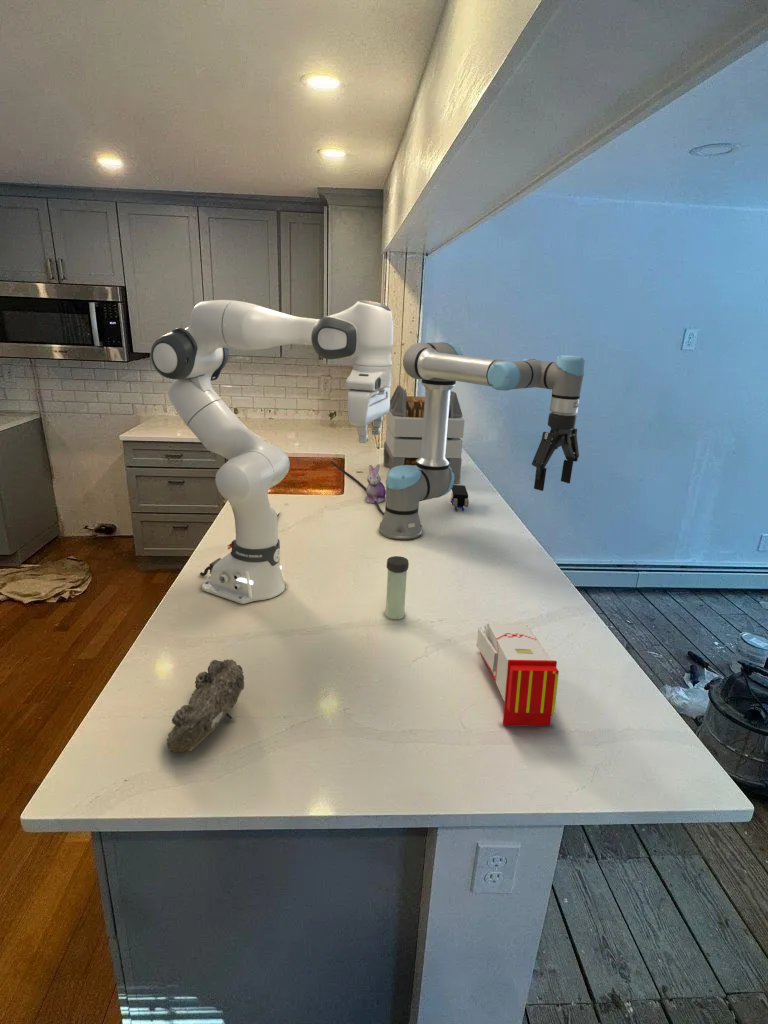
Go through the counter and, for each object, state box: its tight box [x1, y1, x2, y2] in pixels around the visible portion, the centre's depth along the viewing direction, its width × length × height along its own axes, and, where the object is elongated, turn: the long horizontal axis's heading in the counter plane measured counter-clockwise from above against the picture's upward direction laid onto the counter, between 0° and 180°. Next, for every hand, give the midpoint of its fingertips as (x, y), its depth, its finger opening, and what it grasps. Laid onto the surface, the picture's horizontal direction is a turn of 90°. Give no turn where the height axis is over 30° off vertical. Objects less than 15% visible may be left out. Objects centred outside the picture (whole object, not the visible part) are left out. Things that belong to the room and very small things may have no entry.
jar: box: [385, 569, 408, 620], centre depth 145 cm, size 5×5×15 cm
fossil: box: [166, 658, 245, 754], centre depth 106 cm, size 22×10×15 cm
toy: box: [476, 621, 560, 727], centre depth 120 cm, size 12×13×30 cm
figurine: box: [365, 463, 386, 504], centre depth 231 cm, size 9×10×15 cm
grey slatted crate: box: [383, 384, 465, 484], centre depth 268 cm, size 34×33×41 cm
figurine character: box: [449, 484, 470, 512], centre depth 229 cm, size 7×8×15 cm
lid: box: [386, 555, 409, 572], centre depth 142 cm, size 6×6×2 cm
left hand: (369, 438), depth 132 cm, fingers open, 8 cm apart
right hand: (552, 485), depth 166 cm, fingers open, 13 cm apart
